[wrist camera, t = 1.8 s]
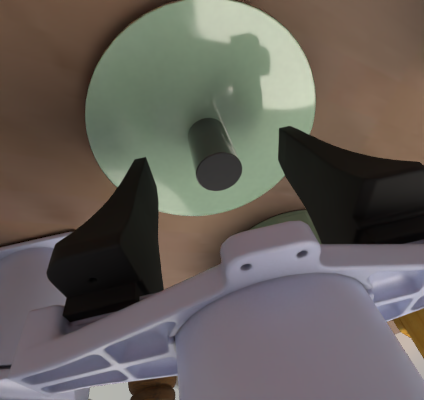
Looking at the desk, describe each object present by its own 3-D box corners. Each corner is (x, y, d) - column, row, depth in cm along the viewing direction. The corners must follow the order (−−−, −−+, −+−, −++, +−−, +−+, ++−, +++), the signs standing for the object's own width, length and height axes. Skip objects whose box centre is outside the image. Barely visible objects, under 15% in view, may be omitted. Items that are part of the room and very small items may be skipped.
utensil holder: (172, 331, 36) (181, 454, 27) (175, 349, 40) (184, 461, 31) (125, 339, 35) (118, 469, 26) (134, 357, 39) (130, 474, 30)
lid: (133, 222, 22) (131, 275, 18) (36, 25, 13) (-8, 55, 9) (299, 185, 22) (328, 230, 19) (321, -31, 13) (388, -24, 10)
